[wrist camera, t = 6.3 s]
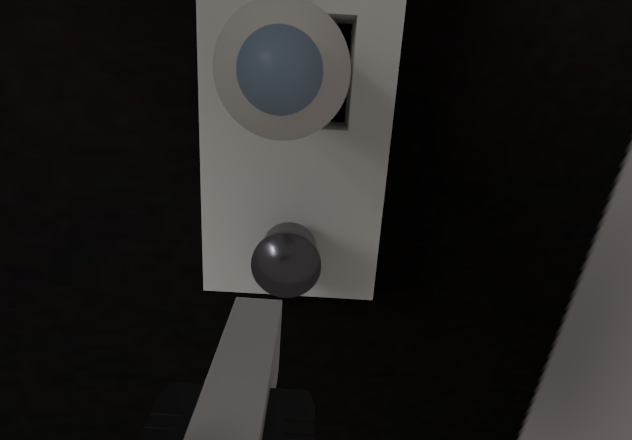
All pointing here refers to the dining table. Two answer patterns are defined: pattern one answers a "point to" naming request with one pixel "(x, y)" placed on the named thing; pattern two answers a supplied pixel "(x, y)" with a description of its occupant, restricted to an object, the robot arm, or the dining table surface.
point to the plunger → (286, 261)
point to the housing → (301, 161)
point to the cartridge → (281, 68)
